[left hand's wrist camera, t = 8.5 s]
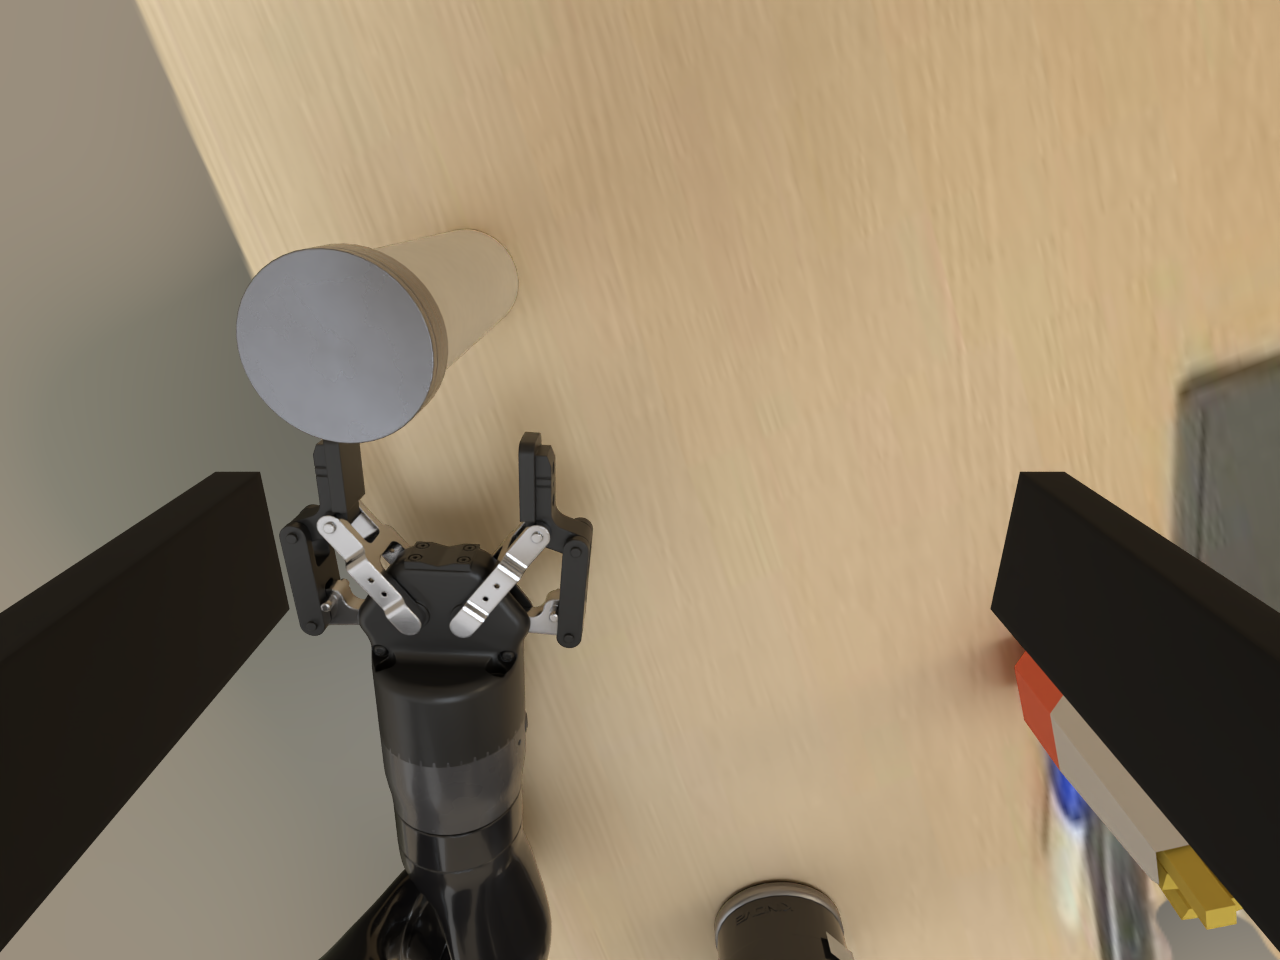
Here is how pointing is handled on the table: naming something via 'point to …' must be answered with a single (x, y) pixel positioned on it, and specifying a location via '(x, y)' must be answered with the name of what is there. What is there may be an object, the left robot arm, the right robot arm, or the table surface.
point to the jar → (462, 281)
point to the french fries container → (1121, 802)
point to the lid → (342, 342)
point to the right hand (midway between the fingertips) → (434, 432)
